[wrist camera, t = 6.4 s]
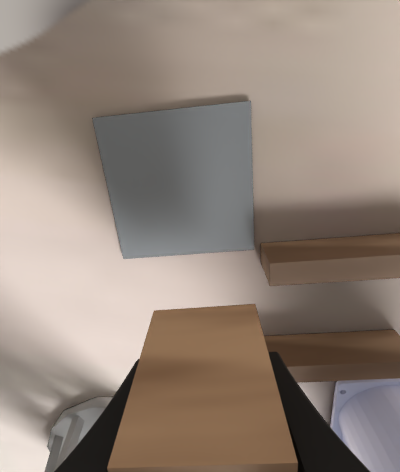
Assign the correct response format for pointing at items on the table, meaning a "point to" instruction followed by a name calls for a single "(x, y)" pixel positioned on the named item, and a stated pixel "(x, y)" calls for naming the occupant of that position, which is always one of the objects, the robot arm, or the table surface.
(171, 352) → the oak block
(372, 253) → the shelf slot
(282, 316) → the table surface
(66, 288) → the table surface
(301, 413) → the robot arm
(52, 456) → the vase
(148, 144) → the slate mat
